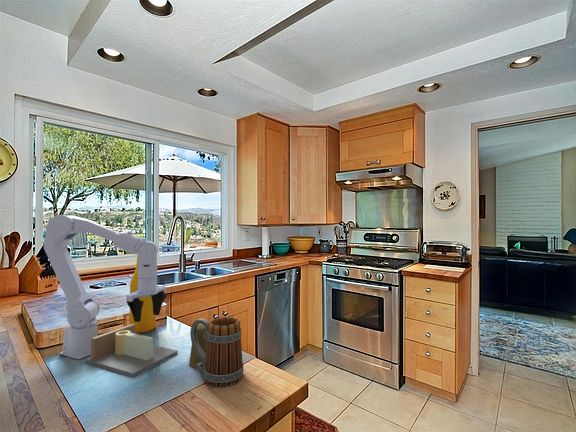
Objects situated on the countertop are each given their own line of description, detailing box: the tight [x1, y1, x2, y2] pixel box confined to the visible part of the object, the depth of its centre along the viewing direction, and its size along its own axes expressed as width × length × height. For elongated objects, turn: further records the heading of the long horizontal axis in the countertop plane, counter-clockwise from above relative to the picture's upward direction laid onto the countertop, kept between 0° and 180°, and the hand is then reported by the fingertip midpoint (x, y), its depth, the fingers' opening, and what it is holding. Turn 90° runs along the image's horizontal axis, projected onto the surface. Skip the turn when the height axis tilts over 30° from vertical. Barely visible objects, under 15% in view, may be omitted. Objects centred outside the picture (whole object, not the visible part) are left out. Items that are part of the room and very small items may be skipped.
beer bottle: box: [128, 255, 157, 334], centre depth 118 cm, size 9×9×29 cm
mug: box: [189, 316, 245, 388], centre depth 83 cm, size 16×11×15 cm
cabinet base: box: [85, 324, 178, 378], centre depth 93 cm, size 20×16×7 cm
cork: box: [188, 324, 207, 369], centre depth 90 cm, size 6×6×11 cm
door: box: [115, 330, 154, 361], centre depth 93 cm, size 14×4×6 cm, turn 66°
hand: (147, 318), depth 102 cm, fingers open, 7 cm apart
